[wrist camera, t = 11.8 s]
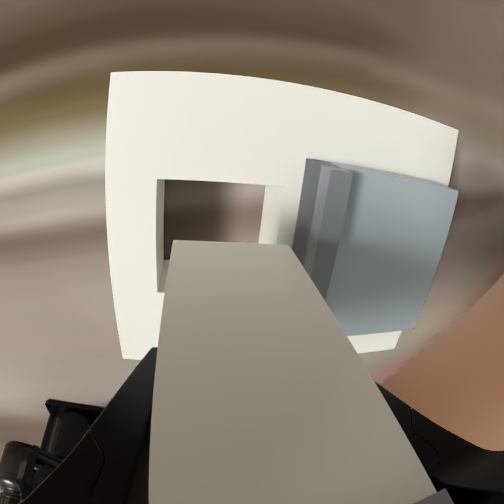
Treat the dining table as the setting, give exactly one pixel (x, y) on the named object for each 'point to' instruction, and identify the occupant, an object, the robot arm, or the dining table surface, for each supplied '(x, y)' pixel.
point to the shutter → (371, 242)
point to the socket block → (236, 166)
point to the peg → (267, 392)
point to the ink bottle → (11, 472)
